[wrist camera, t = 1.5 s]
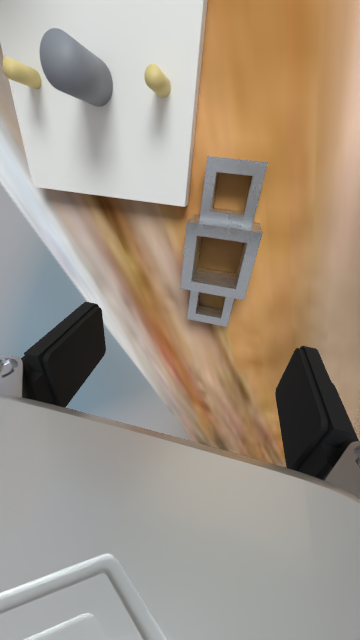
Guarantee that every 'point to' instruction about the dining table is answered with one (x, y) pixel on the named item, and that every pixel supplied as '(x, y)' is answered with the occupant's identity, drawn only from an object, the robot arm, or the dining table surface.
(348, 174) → the dining table surface
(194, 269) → the bracket
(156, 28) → the post block
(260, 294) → the dining table surface
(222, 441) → the dining table surface
